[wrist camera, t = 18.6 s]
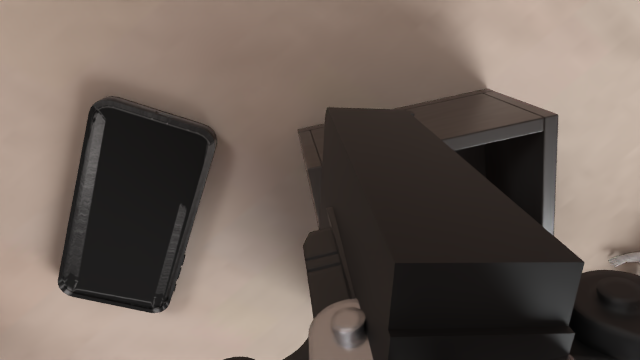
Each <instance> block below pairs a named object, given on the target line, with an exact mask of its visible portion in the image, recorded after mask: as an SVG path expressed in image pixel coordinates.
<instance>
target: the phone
mask: <svg viewBox="0 0 640 360" xmlns="http://www.w3.org/2000/svg"><path fill="white" fill-rule="evenodd" d="M216 144H217V138H216V135H215V133H214V131H213V130H212V129H211V128H210V127H208V126H206V125H204V124H201V123H198V122H195V121H192V120H189V119H186V118H182V117H179V116H176V115H173V114H170V113H167V112H163V111H160V110H157V109H154V108H151V107H147V106H144V105H141V104H138V103H135V102H132V101H128V100H125V99H122V98H119V97H113V96H111V97H105V98H103V99H101V100H100V101H98V102H96V103H94V105H93V106H92V107H91V108H90V111H89V115H88V120H87V126H86V131H85V137H84V142H83V147H82V153H81V158H80V164H79V169H78V174H77V180H76V185H75V191H74V196H73V201H72V207H71V212H70V218H69V223H68V228H67V234H66V239H65V245H64V250H63V255H62V261H61V266H60V272H59V277H58V285H59V288H60V289H61V290H62V291H63V292H64V293H65V294H67V295H69V296H72V297H77V298H81V299H86V300H91V301H96V302H101V303H106V304H111V305H115V306H120V307H125V308H130V309H135V310H140V311H145V312H149V313H158V312H162V311H164V310H165V309H166V308H167V307H168V305H169V303H170V300H171V297H172V294H173V291H175V287H176V281H177V279H178V278H179V274H180V271H181V268H180V267H181V266H182V265H183V262H184V258H185V255H184V253H185V250H186V247H187V243H188V240H189V236H190V233H191V230H192V226H193V223H194V219H195V216H196V213H197V209H198V206H199V203H200V199H201V196H202V192H203V189H204V186H205V182H206V179H207V175H208V172H209V169H210V165H211V162H212V158H213V155H214V152H215V148H216Z"/></svg>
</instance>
